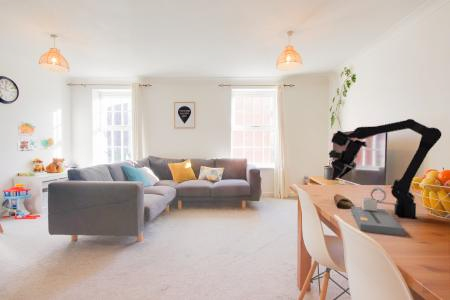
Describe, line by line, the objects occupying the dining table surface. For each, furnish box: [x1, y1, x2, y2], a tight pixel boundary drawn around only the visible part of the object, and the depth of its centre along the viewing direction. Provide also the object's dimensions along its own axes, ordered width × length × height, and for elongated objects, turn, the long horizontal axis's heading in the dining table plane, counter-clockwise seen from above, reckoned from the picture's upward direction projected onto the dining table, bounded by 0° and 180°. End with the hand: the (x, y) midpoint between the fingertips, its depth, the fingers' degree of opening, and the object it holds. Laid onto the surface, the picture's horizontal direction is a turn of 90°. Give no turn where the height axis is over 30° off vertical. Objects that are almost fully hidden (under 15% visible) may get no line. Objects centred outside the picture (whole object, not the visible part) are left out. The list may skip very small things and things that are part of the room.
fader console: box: [350, 206, 405, 237], centre depth 95 cm, size 13×25×3 cm, turn 159°
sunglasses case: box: [333, 193, 355, 210], centre depth 123 cm, size 18×7×7 cm
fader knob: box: [361, 197, 378, 211], centre depth 103 cm, size 5×3×5 cm, turn 69°
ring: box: [370, 186, 387, 203], centre depth 127 cm, size 7×3×8 cm, turn 59°
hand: (336, 178), depth 120 cm, fingers open, 9 cm apart
